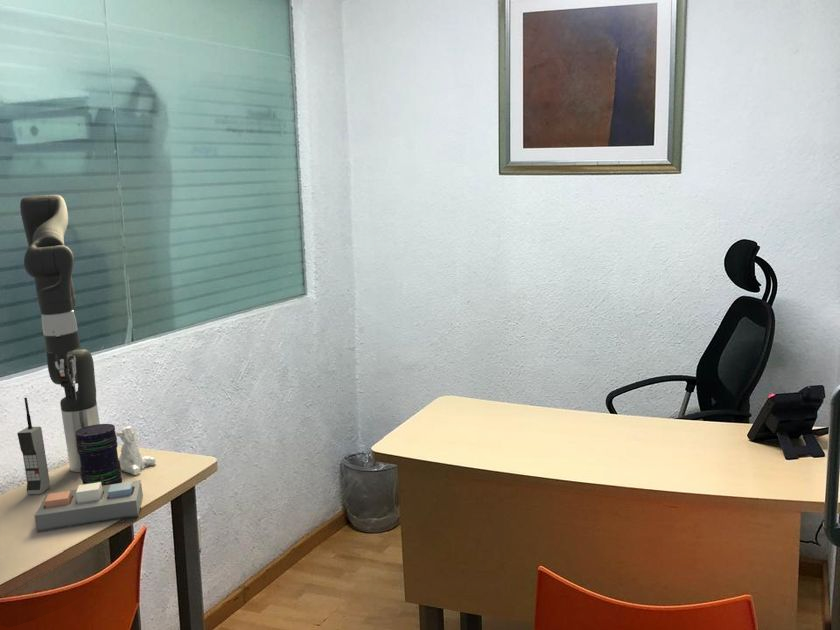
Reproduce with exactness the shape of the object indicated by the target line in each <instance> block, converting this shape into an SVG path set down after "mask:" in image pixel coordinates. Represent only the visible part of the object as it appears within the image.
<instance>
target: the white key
mask: <svg viewBox="0 0 840 630" xmlns="http://www.w3.org/2000/svg"><path fill="white" fill-rule="evenodd" d="M76 490H77V491H76V496H77V503H82V502H89V501H95V500H102V497H103V491H102V484H101V482H97V483H91V484H84V485H83V484H78V487H77V489H76Z"/></svg>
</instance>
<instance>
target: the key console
mask: <svg viewBox="0 0 840 630" xmlns="http://www.w3.org/2000/svg"><path fill="white" fill-rule="evenodd" d="M127 482H128V481H127ZM127 482H125V481H124V483H127ZM130 482H132V484H133V495H129V496H122V497H115V498H109V495H108V491H109V488H110V485H104V486H102V491H103V497H102V500H95V501H89V502H82V503H77V496H76V491H77V489H72V490H69V491H71V494H72V501H71V503H70V504H69V505H62V506H55V507H49V508H46V507H45V500H46V498H47V496H48V494H52V493H53V492H50V493H46V494H45V496H44V497H43V500H42V501H41V503H40V505H39V507H38V509H37V511H36V512H35V514H34V519H35V527H36V531H37V533H43V532H49V531H55V530H61V529H66V528H67V529H69V528H73V527H81V526H85V525H93V524H100V523H104V522H105V523H106V522H112V521H120V520H126V519H132V518H138V517H139V514H140V511H141V510H140V509H141V505H142V500H143V497H144V496H143V495H144V494H143V493H144V492H143V486H142V480H141V479H140V480H134V481H130ZM118 484H120V483H118ZM111 485H113V484H111ZM66 491H67V490H65V491H62V492H66ZM59 492H60V491H58V492H55V493H59Z"/></svg>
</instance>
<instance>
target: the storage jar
mask: <svg viewBox="0 0 840 630" xmlns="http://www.w3.org/2000/svg"><path fill="white" fill-rule="evenodd" d="M116 433H117V432H116V426H115V425H114V424H113V423H112V424H111V423H100V424H97V425H91V426H87V427H84V428H81V429H79V430H77V431H76V432H75V435H76V441H77V442H76V445H77V452H78V454H79V456H80V463H81V468H80V470H81V471H80V472H79V473H80V479H81V481H82V485H84V484H91V483H97V482H101V484H102V486H104V485H111V484H118V483H123V478H122V469H121V467H120V461H119V459H118V458H119V454H118V438H117V437H118V436H117V435H116Z"/></svg>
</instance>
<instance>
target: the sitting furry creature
mask: <svg viewBox="0 0 840 630" xmlns="http://www.w3.org/2000/svg"><path fill="white" fill-rule="evenodd" d="M116 436H117V437H119V439H120V440H121V441H122V446H121V448H120V449H121V450H120V456H118V460H119V461H120V467H121V472H125V473H127V474H130V475H132V476H137V474H138V475H140V473H141V470H143V469H144V468H143V467H145V468H147V467H149V466H148V465H153V466H155V465H156V464H155V463H156V458H155V457H151V456H150V455H147V456H142V453H141V450H140V447H139V445H138V443H137V438H138V433H137V431H136V429H135V428H133V426H130V425H129V426H126V427H123V428H122V429H121V431H118V432H116ZM154 464H155V465H154ZM146 466H147V467H146ZM142 468H143V469H142Z"/></svg>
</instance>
